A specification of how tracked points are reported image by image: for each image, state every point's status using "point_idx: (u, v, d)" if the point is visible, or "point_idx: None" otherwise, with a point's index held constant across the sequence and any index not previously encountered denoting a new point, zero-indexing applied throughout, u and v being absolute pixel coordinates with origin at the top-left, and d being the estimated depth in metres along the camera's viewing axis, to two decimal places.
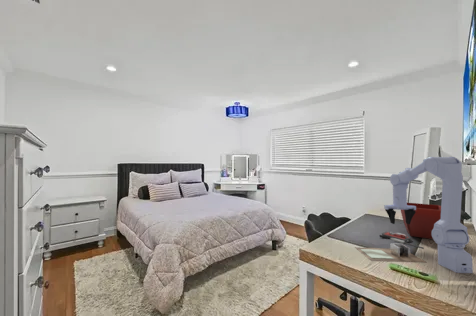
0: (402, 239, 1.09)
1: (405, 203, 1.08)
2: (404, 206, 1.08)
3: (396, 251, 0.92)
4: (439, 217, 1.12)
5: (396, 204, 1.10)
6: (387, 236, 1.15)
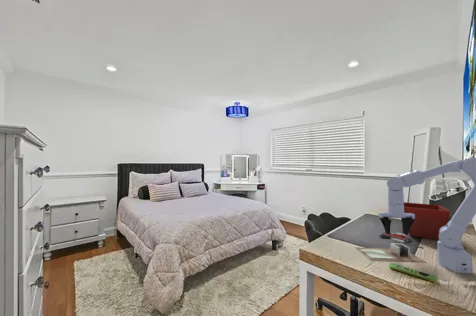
0: (402, 239, 1.09)
1: (402, 211, 0.94)
2: (401, 214, 0.93)
3: (396, 251, 0.92)
4: (439, 217, 1.12)
5: (392, 212, 0.95)
6: (387, 236, 1.15)
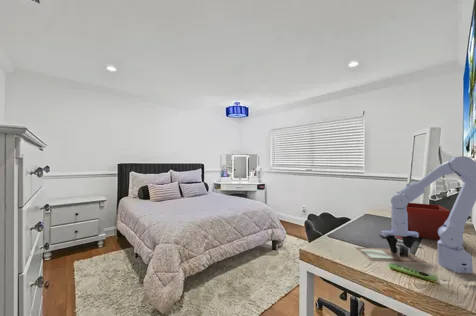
0: (402, 239, 1.09)
1: (406, 229, 0.91)
2: (405, 233, 0.91)
3: (396, 251, 0.92)
4: (439, 217, 1.12)
5: (395, 230, 0.93)
6: None
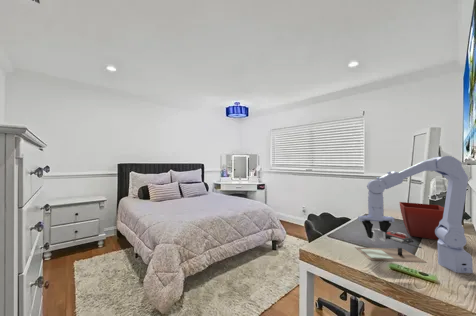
0: (402, 238, 1.10)
1: (381, 214, 0.92)
2: (380, 218, 0.92)
3: (372, 236, 0.93)
4: (439, 217, 1.12)
5: (371, 215, 0.94)
6: (388, 235, 1.16)
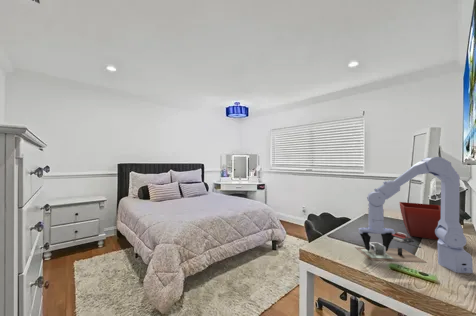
0: (402, 238, 1.10)
1: (381, 227, 0.92)
2: (380, 230, 0.92)
3: (372, 250, 0.93)
4: (439, 217, 1.12)
5: (371, 227, 0.93)
6: None
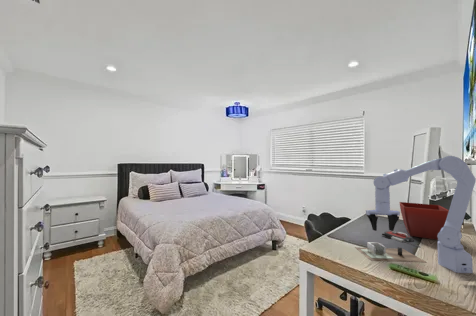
0: (402, 238, 1.11)
1: (388, 208, 0.99)
2: (387, 211, 0.98)
3: (372, 250, 0.93)
4: (439, 217, 1.12)
5: (378, 209, 1.00)
6: (388, 235, 1.17)
